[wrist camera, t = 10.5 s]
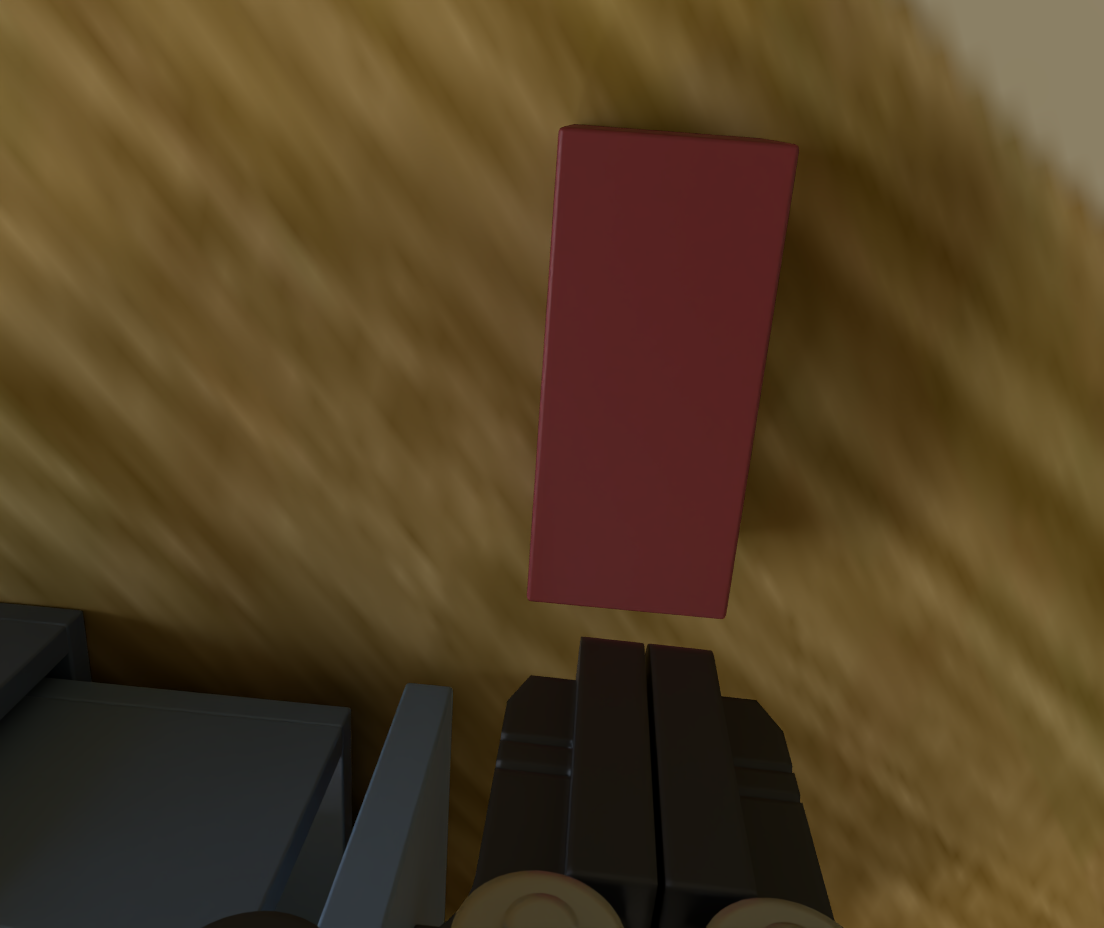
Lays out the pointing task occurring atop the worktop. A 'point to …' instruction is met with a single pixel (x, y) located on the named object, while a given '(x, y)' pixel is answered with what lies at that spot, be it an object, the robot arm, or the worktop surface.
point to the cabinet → (39, 649)
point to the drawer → (217, 810)
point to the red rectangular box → (653, 363)
